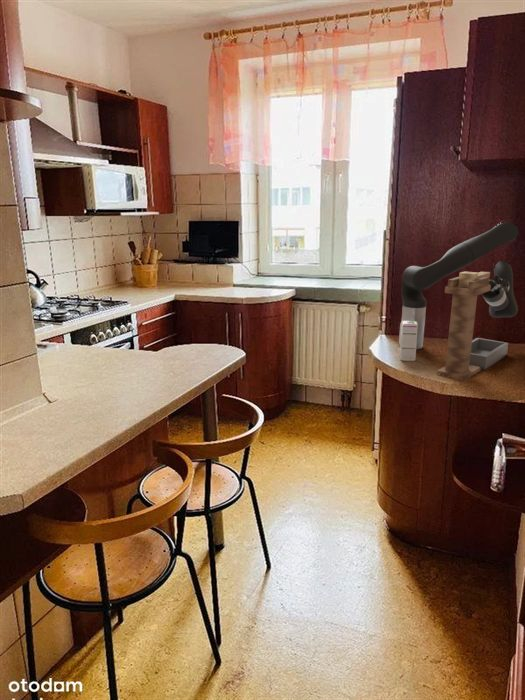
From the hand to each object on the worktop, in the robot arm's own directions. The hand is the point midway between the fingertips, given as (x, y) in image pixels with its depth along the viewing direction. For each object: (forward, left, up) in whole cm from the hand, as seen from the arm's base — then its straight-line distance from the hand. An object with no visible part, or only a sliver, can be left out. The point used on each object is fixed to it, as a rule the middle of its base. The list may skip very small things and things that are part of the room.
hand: (482, 276), depth 180 cm
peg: (+3, -6, -2) cm, 7 cm away
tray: (-4, +7, -33) cm, 34 cm away
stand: (+6, -11, -33) cm, 35 cm away
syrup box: (-14, -19, -33) cm, 41 cm away
